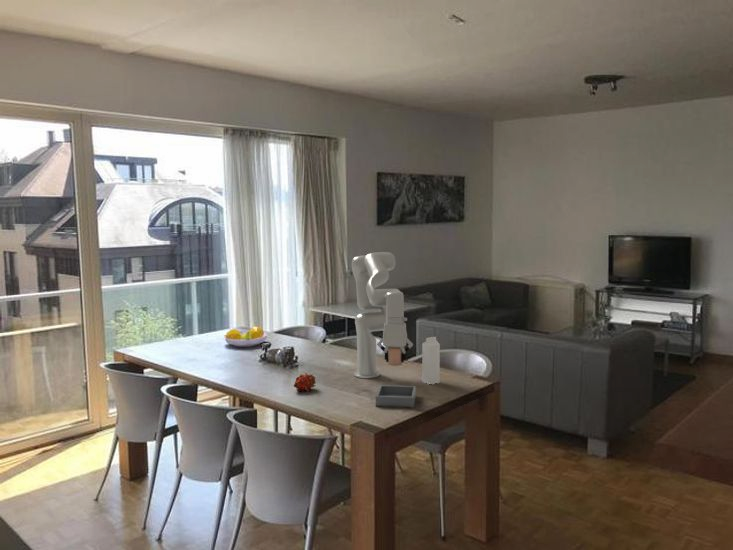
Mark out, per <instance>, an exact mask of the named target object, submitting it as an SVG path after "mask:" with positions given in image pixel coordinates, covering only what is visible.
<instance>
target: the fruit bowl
mask: <svg viewBox="0 0 733 550" xmlns="http://www.w3.org/2000/svg"><path fill="white" fill-rule="evenodd" d="M223 337H224V338H223V339H224V340H225V342H226V343H227V344H229V345H231V346H234V347H236V348H242V347H243V348H248V347H249V348H251V346H252V347H254V346H257V345H259V344H262V343H264V342H265V341H266V339H267V337H268V334H267V332H265V331H264V330H263V329H262V328H261V327H260V326H252V327H251V329H250V330H242V331H240V330H238V329H236V328H233V329H230V330H229V331H227V332H226V334H225V335H223Z"/></svg>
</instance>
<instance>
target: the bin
mask: <svg viewBox="0 0 733 550" xmlns="http://www.w3.org/2000/svg"><path fill="white" fill-rule="evenodd" d="M416 397H417V387H416V385H393V384H392V385H389V384H383V385H382V384H380V385H379V387H378V390H377V391H376V394H375V407H376V406H388V407H387V408H401V407H414V408H415V404H414V403H416Z"/></svg>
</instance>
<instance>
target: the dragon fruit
mask: <svg viewBox="0 0 733 550" xmlns="http://www.w3.org/2000/svg"><path fill="white" fill-rule="evenodd" d="M293 387H294V388H296V391H297V392H303V391H306V392H309V391H310V390H311V389H312V388H314V387H316V377H315V376H313V374H311V373H310V374H308V373H307V372H304V374H299V376H297V377H296V378H295V381H294V384H293ZM301 390H302V391H301Z"/></svg>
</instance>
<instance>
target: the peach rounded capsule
mask: <svg viewBox="0 0 733 550" xmlns="http://www.w3.org/2000/svg"><path fill="white" fill-rule="evenodd" d="M387 365H389V366H392V367H394V366H395V367H398V366H402V365H403V363H402V349H401V347H389V348H388V362H387Z"/></svg>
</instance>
